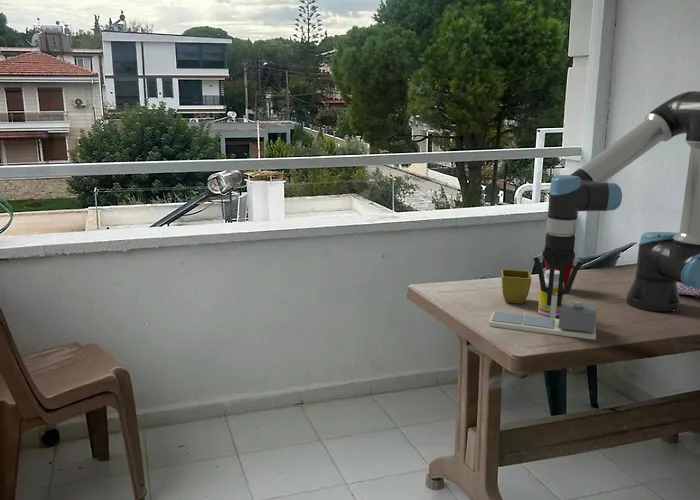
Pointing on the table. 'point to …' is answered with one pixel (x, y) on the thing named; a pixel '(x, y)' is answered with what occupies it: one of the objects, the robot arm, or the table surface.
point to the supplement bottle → (543, 306)
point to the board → (535, 325)
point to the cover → (577, 316)
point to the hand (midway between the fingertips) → (552, 316)
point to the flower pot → (515, 285)
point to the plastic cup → (566, 271)
